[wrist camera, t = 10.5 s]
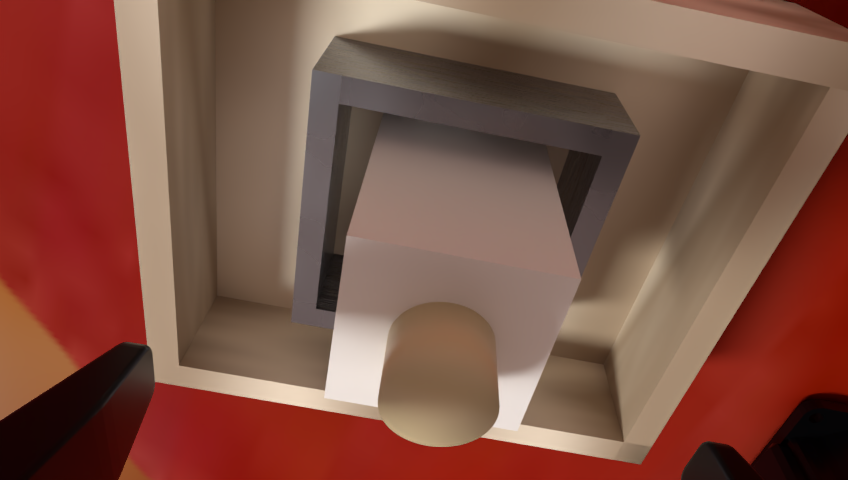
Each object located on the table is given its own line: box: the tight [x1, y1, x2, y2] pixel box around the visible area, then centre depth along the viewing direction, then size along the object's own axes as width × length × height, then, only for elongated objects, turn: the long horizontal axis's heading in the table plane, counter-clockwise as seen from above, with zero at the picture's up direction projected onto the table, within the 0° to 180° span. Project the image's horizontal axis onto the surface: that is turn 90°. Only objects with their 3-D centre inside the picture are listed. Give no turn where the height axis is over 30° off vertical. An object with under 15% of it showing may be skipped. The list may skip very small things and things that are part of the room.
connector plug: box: [324, 113, 581, 447], centre depth 13 cm, size 4×4×8 cm
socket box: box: [114, 0, 848, 464], centre depth 15 cm, size 14×12×4 cm
